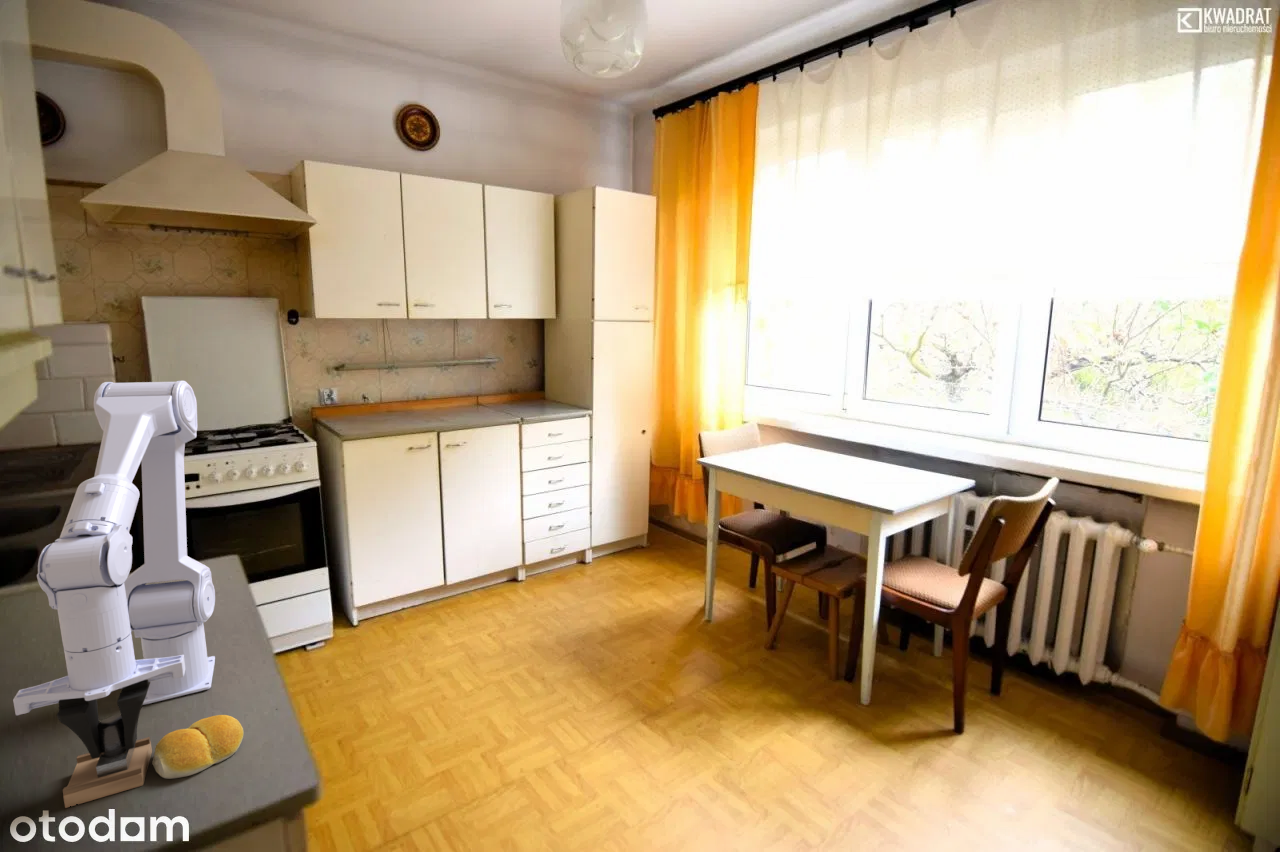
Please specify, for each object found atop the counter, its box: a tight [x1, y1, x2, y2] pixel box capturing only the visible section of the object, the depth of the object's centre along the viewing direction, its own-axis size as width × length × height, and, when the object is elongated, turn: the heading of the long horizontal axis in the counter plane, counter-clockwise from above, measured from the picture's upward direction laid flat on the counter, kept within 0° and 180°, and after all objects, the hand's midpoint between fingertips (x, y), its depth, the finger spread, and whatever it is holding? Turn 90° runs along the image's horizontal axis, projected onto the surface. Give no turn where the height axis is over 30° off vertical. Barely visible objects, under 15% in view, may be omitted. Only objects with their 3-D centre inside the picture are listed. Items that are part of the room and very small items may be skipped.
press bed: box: [62, 736, 153, 809], centre depth 71 cm, size 6×7×2 cm
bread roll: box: [152, 714, 245, 780], centre depth 76 cm, size 8×9×4 cm
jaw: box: [96, 714, 135, 778], centre depth 71 cm, size 5×3×5 cm, turn 31°
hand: (114, 748), depth 71 cm, fingers closed on jaw, 2 cm apart
